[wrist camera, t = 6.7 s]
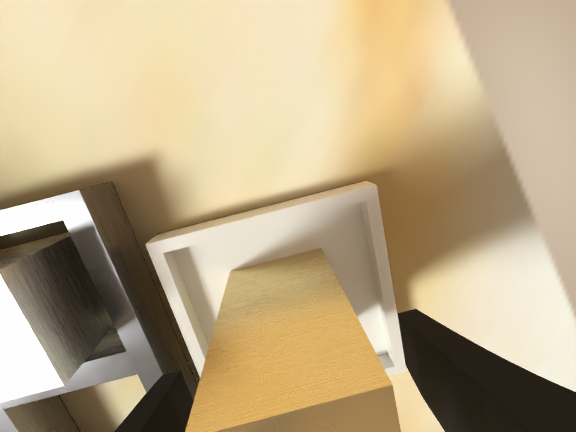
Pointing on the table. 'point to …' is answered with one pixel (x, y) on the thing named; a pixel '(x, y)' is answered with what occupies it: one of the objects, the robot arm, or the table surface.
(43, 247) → the rail
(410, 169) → the table surface
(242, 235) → the parts tray
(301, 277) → the wooden block
